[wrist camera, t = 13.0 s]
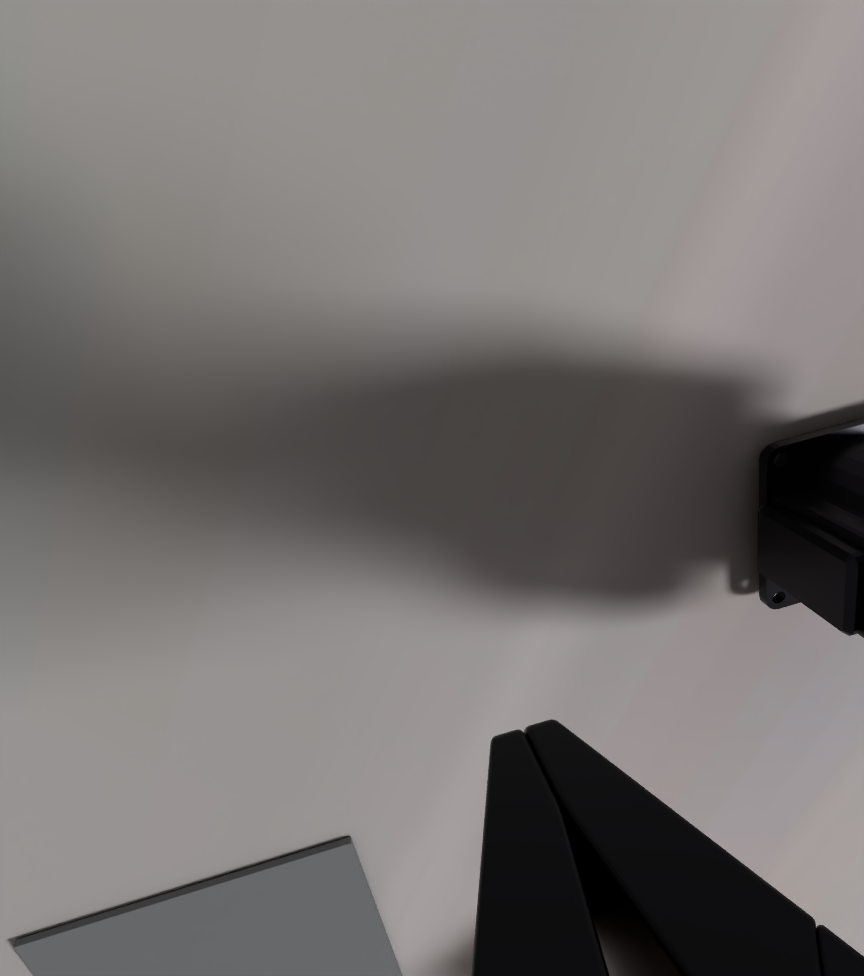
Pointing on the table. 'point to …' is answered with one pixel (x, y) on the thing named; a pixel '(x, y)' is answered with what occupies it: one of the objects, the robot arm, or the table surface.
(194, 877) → the table surface
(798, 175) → the table surface
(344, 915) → the mat
